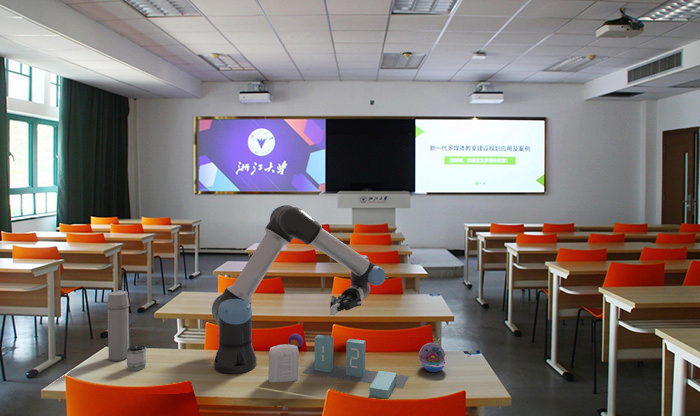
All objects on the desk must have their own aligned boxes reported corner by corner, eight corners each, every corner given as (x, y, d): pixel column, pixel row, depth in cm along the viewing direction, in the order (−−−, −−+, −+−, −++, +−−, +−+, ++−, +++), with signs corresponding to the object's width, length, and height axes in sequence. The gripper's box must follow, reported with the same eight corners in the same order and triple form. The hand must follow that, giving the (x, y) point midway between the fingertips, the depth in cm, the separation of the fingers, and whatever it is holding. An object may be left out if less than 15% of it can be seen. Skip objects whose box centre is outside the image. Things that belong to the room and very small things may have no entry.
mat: (302, 373, 169) (302, 372, 169) (313, 363, 178) (313, 362, 178) (402, 389, 158) (402, 388, 158) (408, 377, 167) (408, 376, 167)
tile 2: (345, 375, 167) (346, 341, 166) (348, 371, 170) (349, 338, 169) (362, 377, 165) (362, 343, 165) (364, 374, 168) (365, 340, 168)
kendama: (275, 353, 177) (288, 332, 197) (278, 368, 178) (291, 345, 198) (291, 351, 176) (302, 330, 196) (294, 367, 177) (305, 344, 197)
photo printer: (297, 376, 167) (298, 341, 166) (299, 381, 163) (299, 346, 162) (268, 378, 164) (268, 343, 164) (268, 384, 160) (268, 348, 159)
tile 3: (379, 379, 164) (369, 396, 152) (379, 370, 163) (369, 387, 152) (396, 382, 162) (387, 399, 150) (396, 373, 161) (387, 390, 150)
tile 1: (314, 370, 171) (314, 337, 170) (317, 366, 174) (317, 334, 173) (329, 372, 169) (330, 339, 168) (333, 369, 172) (333, 336, 171)
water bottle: (121, 362, 176) (120, 296, 175) (103, 360, 178) (101, 294, 176) (137, 353, 185) (136, 290, 184) (119, 351, 187) (118, 289, 185)
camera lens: (126, 372, 168) (126, 350, 167) (127, 366, 174) (127, 344, 173) (146, 370, 170) (145, 348, 170) (146, 363, 176) (146, 342, 175)
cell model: (422, 377, 167) (423, 350, 166) (415, 364, 179) (416, 339, 178) (450, 377, 168) (451, 350, 167) (442, 363, 180) (442, 338, 179)
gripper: (366, 306, 198) (348, 323, 175) (337, 303, 202) (315, 319, 180) (367, 289, 197) (348, 303, 175) (337, 286, 201) (316, 299, 179)
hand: (332, 311), depth 177 cm, fingers closed
